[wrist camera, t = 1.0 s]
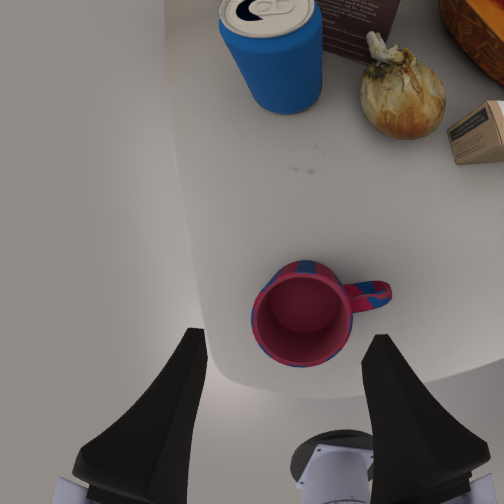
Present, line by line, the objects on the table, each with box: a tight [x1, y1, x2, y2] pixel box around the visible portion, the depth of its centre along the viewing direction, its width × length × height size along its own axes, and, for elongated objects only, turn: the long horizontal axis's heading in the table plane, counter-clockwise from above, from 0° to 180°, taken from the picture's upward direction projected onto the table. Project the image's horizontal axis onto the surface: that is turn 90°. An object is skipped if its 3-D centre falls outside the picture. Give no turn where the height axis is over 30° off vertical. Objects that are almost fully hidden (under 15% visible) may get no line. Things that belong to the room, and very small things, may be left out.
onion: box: [360, 31, 446, 140], centre depth 18 cm, size 8×8×8 cm
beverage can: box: [219, 0, 322, 114], centre depth 18 cm, size 6×6×12 cm
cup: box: [251, 260, 392, 368], centre depth 22 cm, size 7×10×7 cm
